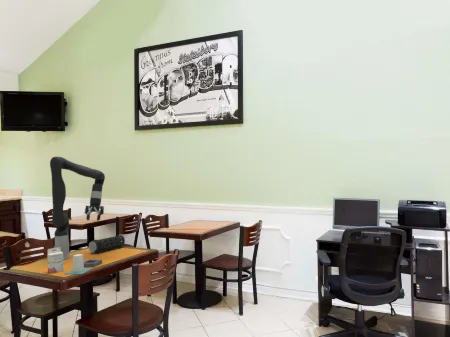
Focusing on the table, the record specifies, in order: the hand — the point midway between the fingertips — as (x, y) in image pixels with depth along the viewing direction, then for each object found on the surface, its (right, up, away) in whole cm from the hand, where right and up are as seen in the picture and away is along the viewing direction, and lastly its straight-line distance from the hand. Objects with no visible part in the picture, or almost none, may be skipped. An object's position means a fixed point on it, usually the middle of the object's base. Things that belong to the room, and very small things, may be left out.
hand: (93, 220), depth 263 cm
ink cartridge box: (-14, -29, -28) cm, 43 cm away
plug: (+2, -28, -31) cm, 42 cm away
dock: (+5, -28, -16) cm, 33 cm away
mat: (+2, -28, -31) cm, 42 cm away
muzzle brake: (+1, -29, +29) cm, 41 cm away
